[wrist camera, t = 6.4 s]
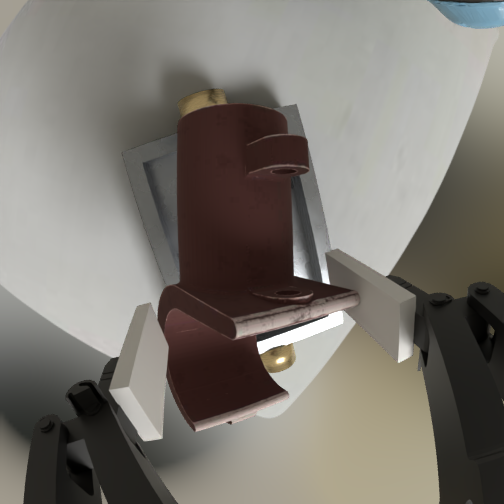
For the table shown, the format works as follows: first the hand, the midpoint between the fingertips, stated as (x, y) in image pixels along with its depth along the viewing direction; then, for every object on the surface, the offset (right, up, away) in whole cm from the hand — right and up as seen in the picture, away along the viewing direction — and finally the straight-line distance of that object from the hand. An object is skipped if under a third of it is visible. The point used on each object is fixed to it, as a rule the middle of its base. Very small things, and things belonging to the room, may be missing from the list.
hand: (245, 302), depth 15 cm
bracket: (-1, +1, +4) cm, 5 cm away
